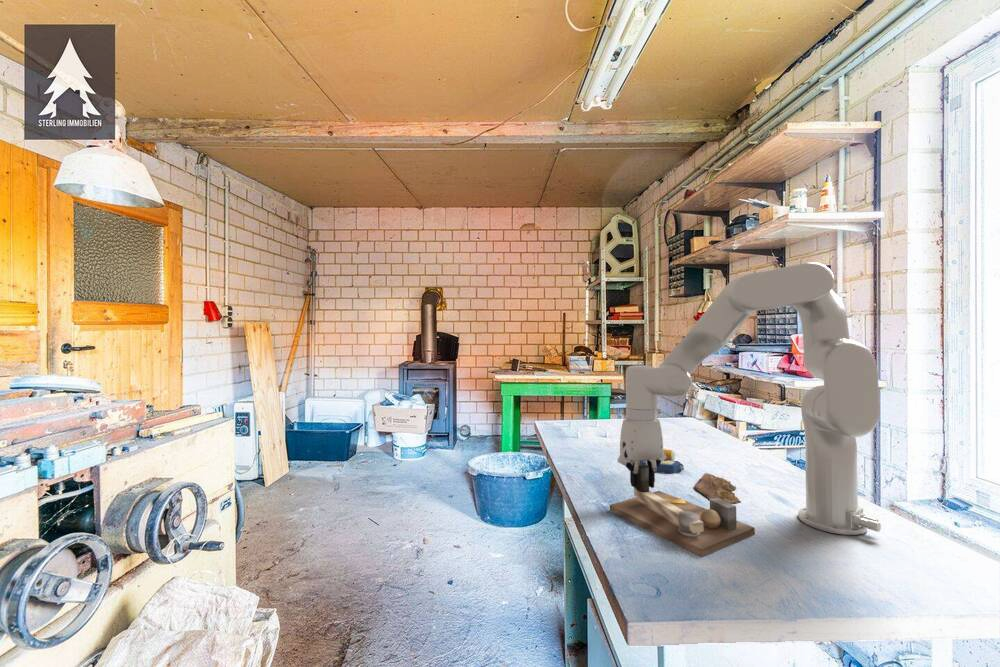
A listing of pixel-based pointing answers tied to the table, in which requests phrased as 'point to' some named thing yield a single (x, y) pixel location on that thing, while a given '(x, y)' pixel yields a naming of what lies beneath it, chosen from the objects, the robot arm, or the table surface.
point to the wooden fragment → (716, 488)
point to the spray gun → (668, 463)
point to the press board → (716, 533)
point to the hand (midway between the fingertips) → (642, 486)
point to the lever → (666, 505)
